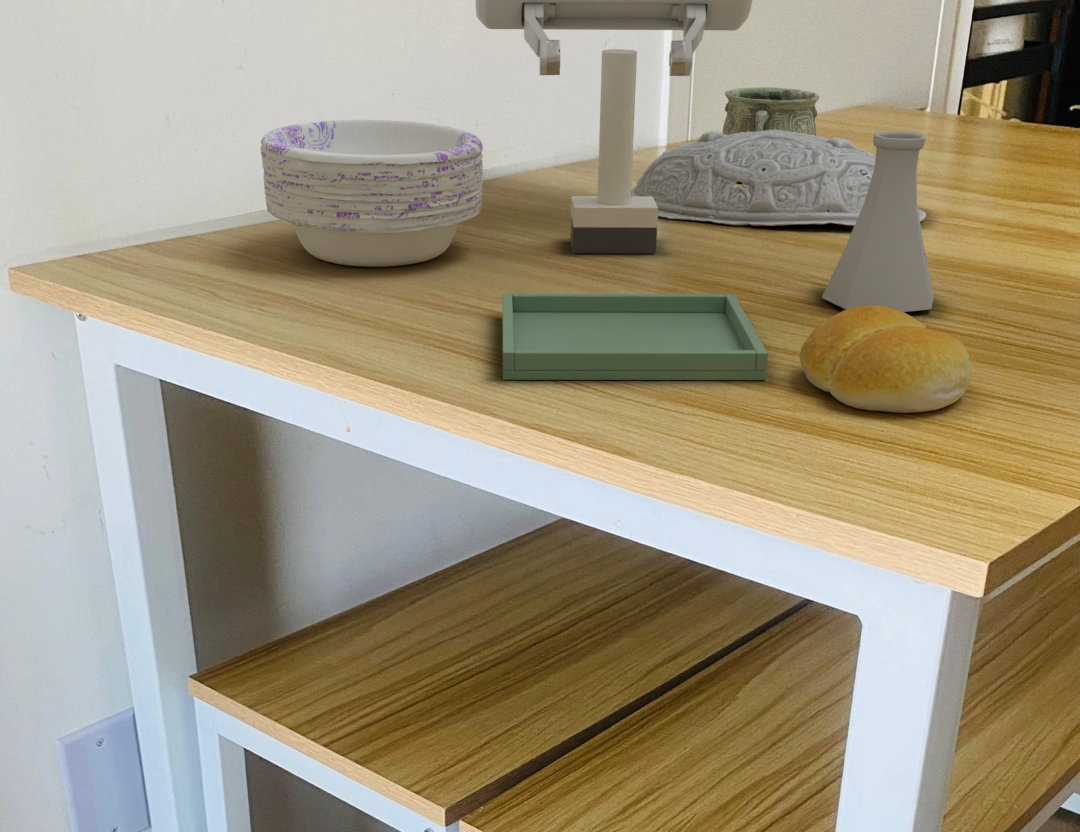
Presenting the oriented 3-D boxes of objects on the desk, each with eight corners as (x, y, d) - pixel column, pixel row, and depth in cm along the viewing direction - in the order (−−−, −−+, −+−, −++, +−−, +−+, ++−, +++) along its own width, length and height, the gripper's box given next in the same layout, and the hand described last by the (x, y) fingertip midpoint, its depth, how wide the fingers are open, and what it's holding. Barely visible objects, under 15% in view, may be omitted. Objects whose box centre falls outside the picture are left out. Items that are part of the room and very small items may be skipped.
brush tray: (732, 318, 84) (734, 293, 84) (765, 380, 74) (768, 352, 73) (502, 317, 84) (502, 293, 83) (503, 380, 74) (502, 352, 73)
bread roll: (870, 426, 68) (881, 346, 66) (775, 374, 75) (782, 300, 73) (1004, 406, 71) (1019, 328, 69) (900, 357, 78) (911, 285, 76)
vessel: (732, 152, 136) (738, 82, 132) (822, 158, 133) (829, 87, 130) (706, 173, 126) (711, 98, 123) (802, 179, 124) (810, 104, 120)
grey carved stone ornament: (920, 230, 103) (930, 133, 100) (598, 224, 110) (599, 133, 107) (930, 212, 116) (939, 126, 113) (643, 208, 123) (644, 127, 120)
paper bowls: (502, 274, 93) (501, 149, 89) (276, 284, 90) (264, 155, 86) (464, 226, 106) (462, 115, 102) (265, 233, 103) (254, 119, 99)
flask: (833, 317, 85) (854, 144, 80) (810, 287, 91) (827, 125, 86) (949, 317, 85) (977, 145, 80) (917, 287, 91) (942, 125, 86)
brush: (650, 241, 102) (660, 48, 95) (655, 253, 99) (666, 54, 92) (570, 241, 102) (574, 47, 95) (572, 253, 99) (577, 53, 92)
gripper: (469, -128, 98) (469, 37, 95) (753, -125, 99) (762, 39, 96) (471, -59, 104) (472, 99, 101) (739, -57, 105) (747, 100, 102)
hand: (615, 70), depth 98 cm, fingers open, 8 cm apart
